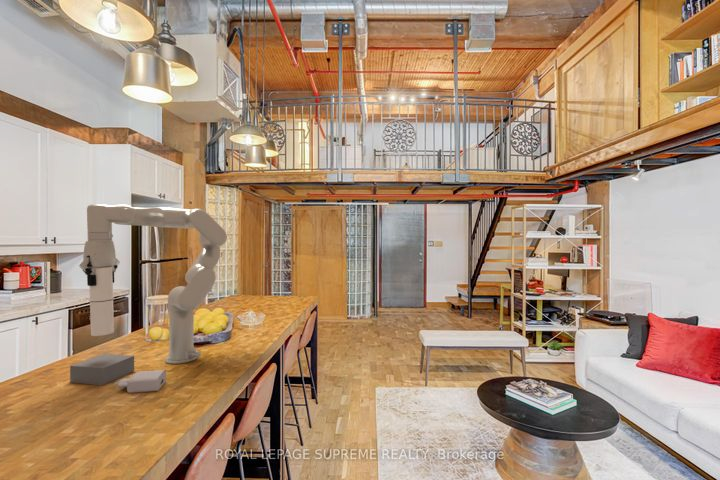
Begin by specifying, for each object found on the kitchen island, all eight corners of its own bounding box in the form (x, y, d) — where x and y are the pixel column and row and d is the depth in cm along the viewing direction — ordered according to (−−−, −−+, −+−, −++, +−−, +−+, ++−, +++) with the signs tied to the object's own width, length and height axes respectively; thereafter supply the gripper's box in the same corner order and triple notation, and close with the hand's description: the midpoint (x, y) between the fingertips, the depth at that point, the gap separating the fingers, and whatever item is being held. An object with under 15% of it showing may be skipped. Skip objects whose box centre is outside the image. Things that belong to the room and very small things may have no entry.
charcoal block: (134, 371, 143) (134, 355, 143) (103, 385, 129) (103, 368, 129) (103, 368, 145) (103, 353, 145) (70, 382, 131) (70, 365, 131)
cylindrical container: (89, 336, 132) (87, 268, 131) (92, 332, 138) (91, 267, 138) (112, 334, 135) (110, 267, 135) (115, 329, 142) (113, 266, 141)
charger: (120, 385, 129) (165, 381, 133) (108, 396, 120) (157, 392, 124) (120, 371, 129) (165, 368, 133) (108, 381, 120) (157, 378, 124)
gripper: (111, 237, 145) (112, 281, 146) (69, 237, 128) (70, 287, 129) (127, 236, 144) (128, 281, 144) (87, 237, 127) (88, 287, 127)
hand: (101, 283), depth 136 cm, fingers closed on cylindrical container, 7 cm apart
